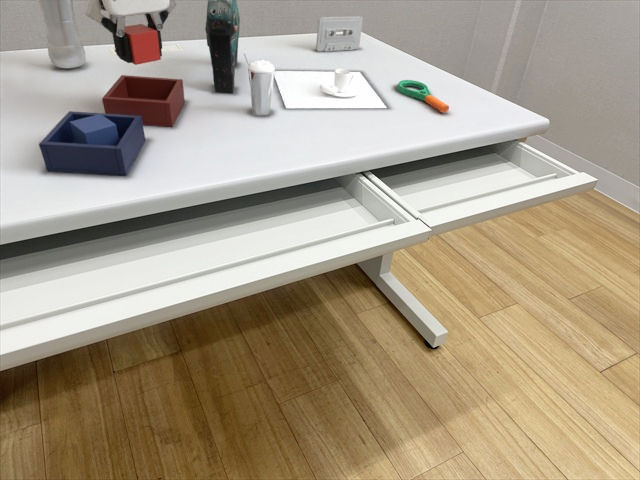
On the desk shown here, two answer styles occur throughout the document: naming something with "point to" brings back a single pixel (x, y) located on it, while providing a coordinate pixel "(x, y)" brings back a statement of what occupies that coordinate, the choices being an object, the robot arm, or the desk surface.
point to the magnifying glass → (422, 94)
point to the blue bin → (93, 147)
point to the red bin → (146, 99)
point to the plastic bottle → (62, 33)
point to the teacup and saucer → (326, 89)
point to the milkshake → (261, 86)
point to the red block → (143, 43)
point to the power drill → (223, 42)
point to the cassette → (338, 41)
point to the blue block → (95, 131)
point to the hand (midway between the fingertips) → (140, 56)
